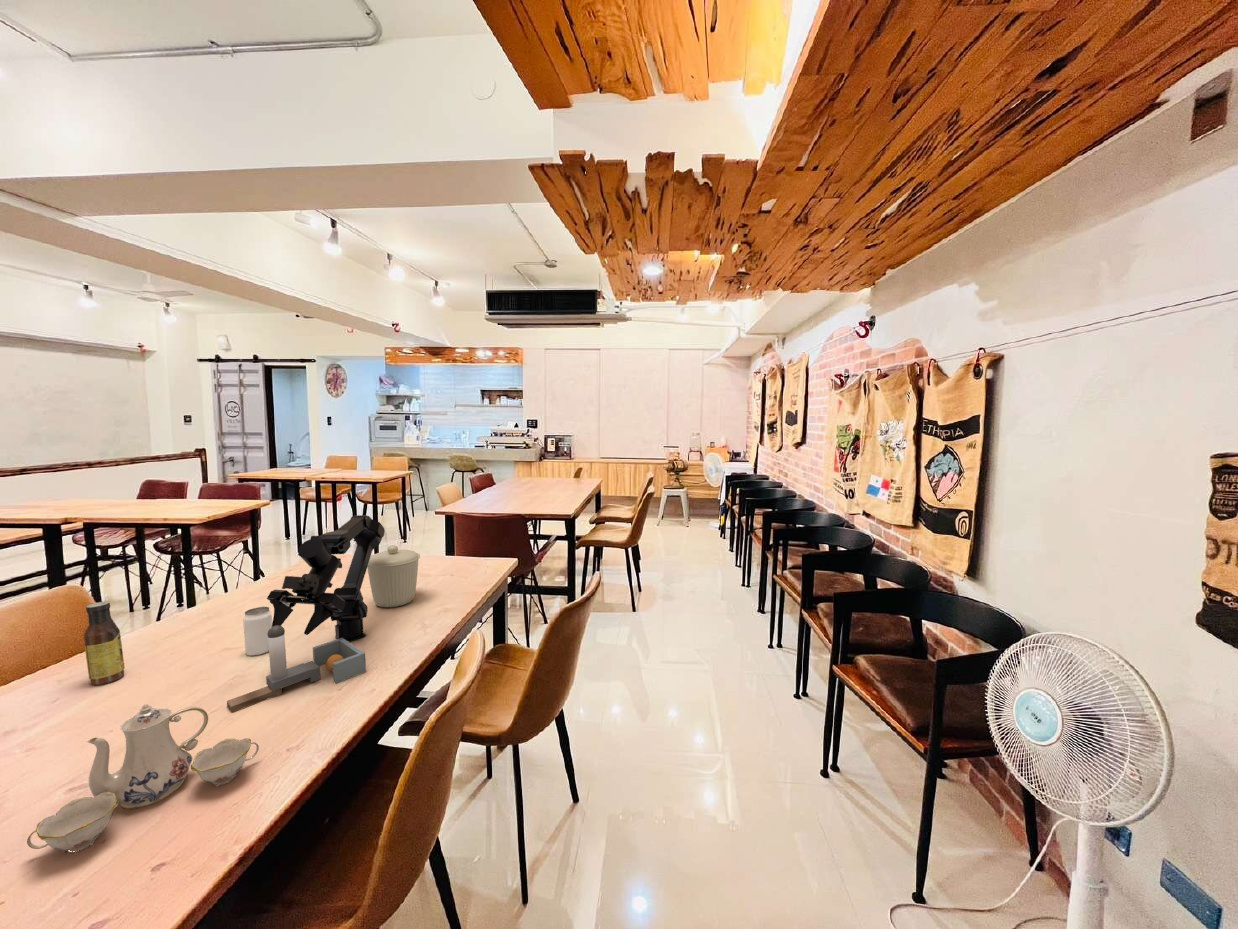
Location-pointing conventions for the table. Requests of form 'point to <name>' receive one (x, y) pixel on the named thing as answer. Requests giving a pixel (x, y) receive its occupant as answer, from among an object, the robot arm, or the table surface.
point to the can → (257, 630)
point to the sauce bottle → (103, 645)
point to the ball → (333, 659)
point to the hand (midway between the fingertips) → (289, 633)
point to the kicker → (278, 663)
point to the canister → (393, 576)
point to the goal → (348, 665)
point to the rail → (252, 698)
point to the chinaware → (139, 776)
